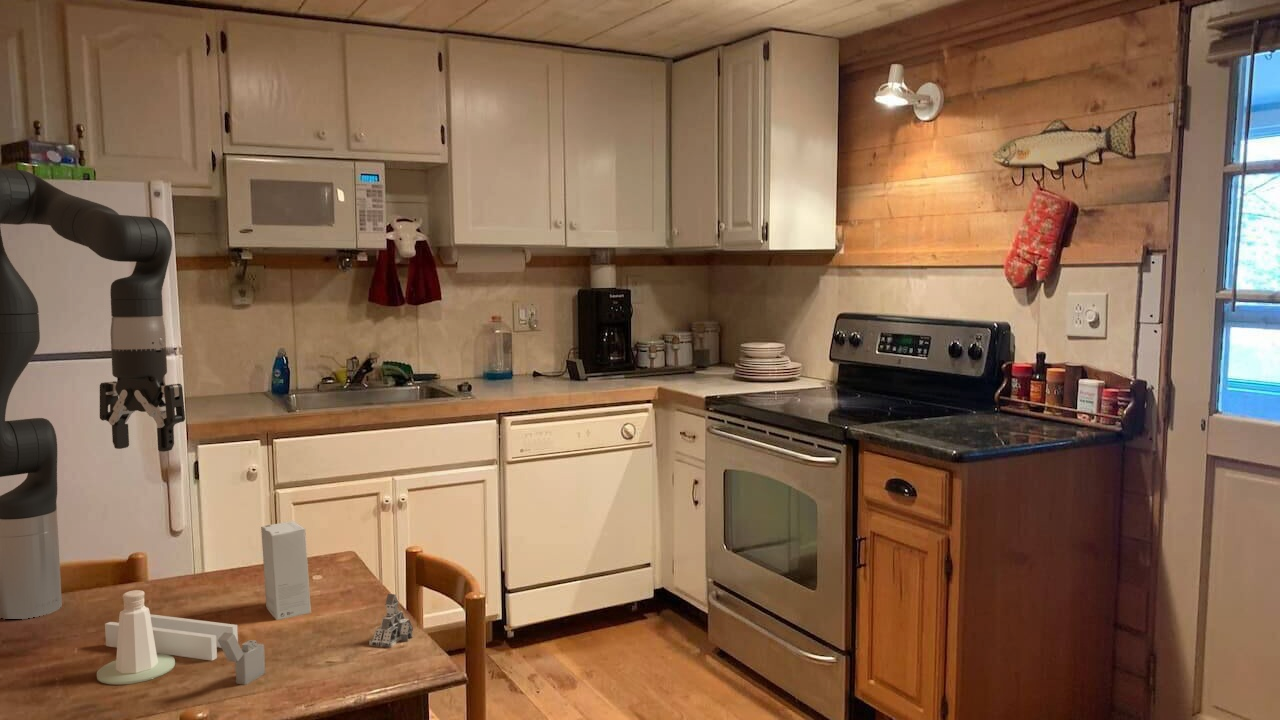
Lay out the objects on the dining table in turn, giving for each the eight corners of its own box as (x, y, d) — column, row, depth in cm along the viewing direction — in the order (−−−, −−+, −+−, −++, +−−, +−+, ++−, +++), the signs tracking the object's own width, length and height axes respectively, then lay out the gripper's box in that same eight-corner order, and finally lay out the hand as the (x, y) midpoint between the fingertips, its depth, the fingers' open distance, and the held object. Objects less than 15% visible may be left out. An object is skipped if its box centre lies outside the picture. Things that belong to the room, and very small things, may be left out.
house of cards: (413, 658, 141) (412, 608, 140) (362, 653, 143) (360, 603, 143) (441, 637, 150) (440, 589, 149) (392, 632, 152) (391, 585, 151)
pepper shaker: (166, 662, 138) (163, 588, 137) (135, 676, 133) (132, 600, 132) (138, 657, 140) (134, 585, 139) (106, 671, 135) (102, 596, 134)
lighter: (256, 671, 136) (254, 617, 135) (266, 673, 135) (263, 619, 135) (219, 692, 129) (217, 635, 128) (229, 693, 128) (227, 636, 128)
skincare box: (311, 615, 159) (308, 529, 158) (274, 622, 156) (271, 534, 154) (299, 601, 166) (296, 518, 165) (263, 608, 162) (260, 523, 161)
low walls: (105, 645, 146) (104, 623, 145) (134, 633, 151) (133, 612, 151) (212, 660, 140) (211, 637, 140) (238, 647, 145) (237, 624, 145)
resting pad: (80, 679, 133) (79, 676, 133) (136, 653, 143) (136, 650, 143) (136, 688, 130) (136, 684, 130) (190, 660, 140) (190, 657, 140)
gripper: (82, 346, 144) (87, 451, 145) (156, 348, 140) (161, 456, 141) (122, 343, 151) (126, 443, 153) (194, 345, 147) (198, 447, 148)
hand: (143, 449), depth 147 cm, fingers open, 8 cm apart
